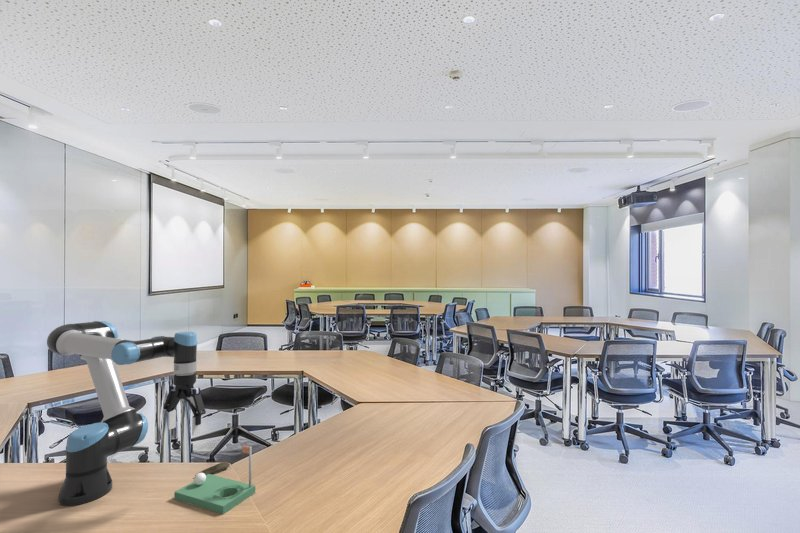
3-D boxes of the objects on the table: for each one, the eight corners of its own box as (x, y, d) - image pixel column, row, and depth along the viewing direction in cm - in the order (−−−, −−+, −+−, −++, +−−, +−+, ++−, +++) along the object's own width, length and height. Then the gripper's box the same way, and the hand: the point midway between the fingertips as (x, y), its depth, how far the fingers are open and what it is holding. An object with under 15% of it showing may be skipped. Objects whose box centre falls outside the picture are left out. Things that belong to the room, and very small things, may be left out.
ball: (191, 486, 139) (191, 474, 139) (200, 480, 142) (201, 469, 143) (199, 488, 137) (199, 476, 137) (208, 482, 141) (208, 471, 141)
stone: (225, 465, 161) (225, 459, 161) (231, 468, 158) (231, 462, 158) (193, 478, 150) (193, 472, 150) (199, 481, 147) (199, 475, 147)
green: (174, 499, 135) (175, 451, 136) (208, 480, 148) (209, 436, 148) (223, 514, 125) (223, 462, 126) (255, 492, 138) (255, 446, 139)
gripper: (153, 372, 147) (152, 429, 146) (199, 378, 137) (197, 439, 136) (172, 368, 153) (171, 423, 152) (216, 374, 143) (215, 432, 142)
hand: (183, 431), depth 144 cm, fingers open, 12 cm apart
